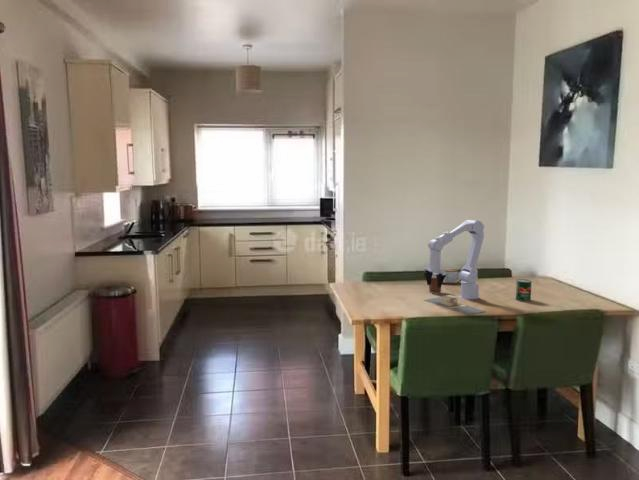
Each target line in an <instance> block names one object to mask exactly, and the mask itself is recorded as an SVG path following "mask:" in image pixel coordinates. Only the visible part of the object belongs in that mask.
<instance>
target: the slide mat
mask: <svg viewBox="0 0 639 480" xmlns="http://www.w3.org/2000/svg"><path fill="white" fill-rule="evenodd" d="M423 301H424V302H428V303H431V304H435V305H437V306H441V307H443V308H446V309H450V310H453V311H455V312H459V313H462V314H465V315H467V316H472V315H478V314H484V313H486V312H487V311H485V310H483V309H480V308H476V307H474V306H468V305H466V304H462V303H459V302H457V305H453V306H447V305H443V304H441V296H440V297H434V298H433V297H432V298H427V299H423Z"/></svg>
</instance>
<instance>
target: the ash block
mask: <svg viewBox="0 0 639 480" xmlns="http://www.w3.org/2000/svg"><path fill="white" fill-rule="evenodd" d="M440 298H441V304H443V305H447V306H453V305H457V303H458V296H454V295H451V294H448V295H441V296H440Z"/></svg>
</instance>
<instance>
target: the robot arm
mask: <svg viewBox="0 0 639 480" xmlns="http://www.w3.org/2000/svg"><path fill="white" fill-rule="evenodd" d="M484 229H485V225H484V223H483V222H482V221H481V220H475V219H471V218H470V219H469V218H468V219H466V220H464V221H463V222H462V223H461V224H459V225H458V226H456V227H455V228H453V229H452V230H451V231H450V232H449V231H444V232H442V234H441V235H439V236H436V237H435V238H433V239H431V240H429V243H428V244H427V246H428V248H429V267H428V266H426V267H425V266H424V267H423V275H424V277H425V280H426V285H427V286H429V285H431V280H432V275H433V273H437V274H439V275H436V277H437V287H438V288H439V287H441V288H442V285H443V283H442V282H443V280H444V278H445V277H446V271H443V270H444V269H443V270H442V269H441V260H442V259H441V257H442V256H441V255H442V250H443V249H444V247H445V246H446V245H448V244H449V243H452V242H453V240H454V238H455V237H457V236H458V235H460V234H462V233H464V232H468V233H469V234H470V235H471V237H472V240H471V245H470V248H469V252H468V255H467V259H466V263H465V265H463V266H462V268H461V270H459V272H460V273H459V278H460V279H461V281H460V283H461V285H460V286H461V287H460V295H458V296H457V298H460V299H463V300H467V301H468V300H478V299H480V297H479V295H480V294H479V291H480V287H479V286H480V285H479V284H478V283H477V282H478V281H477V280H478V278H479V276H478V274H479V271H478V269H477V263H478V260H479V255H480V253H481V249H482V246H483V241H484V237H485V235H484V234H485V233H484Z"/></svg>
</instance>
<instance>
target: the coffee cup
mask: <svg viewBox="0 0 639 480" xmlns="http://www.w3.org/2000/svg"><path fill="white" fill-rule="evenodd" d="M436 275H439V274H437V273H433V275H432V280H431V285H428V289H429V293H430V294H432V293H434V294H433V295H435V294H436V295H438V294H441V292H442V291H441V290H442V286H441V287H439V288H438V287H437V277H436Z"/></svg>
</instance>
